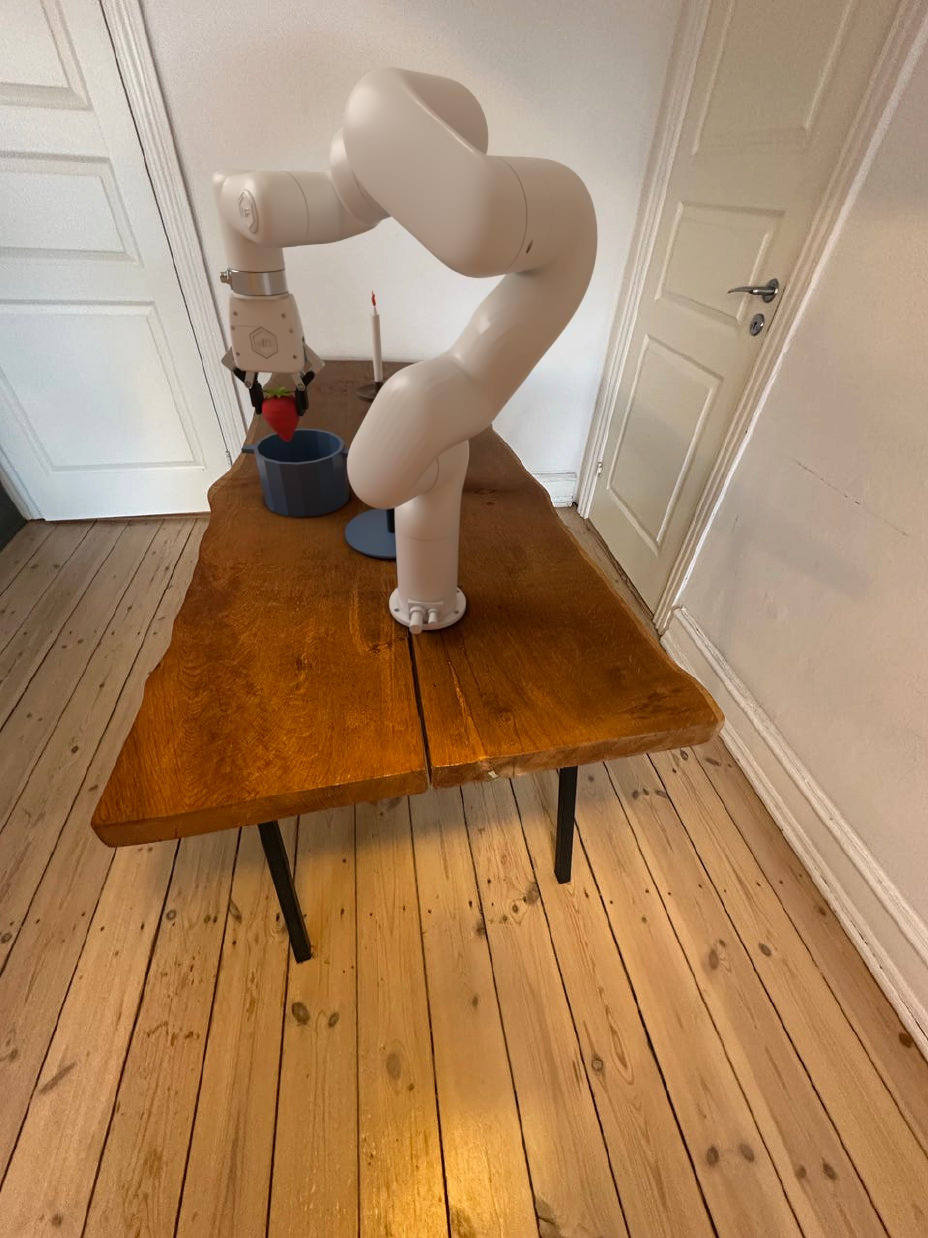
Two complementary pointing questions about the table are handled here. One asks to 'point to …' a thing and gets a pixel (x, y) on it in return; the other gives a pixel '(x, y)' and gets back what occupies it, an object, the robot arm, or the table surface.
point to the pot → (302, 472)
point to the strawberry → (281, 412)
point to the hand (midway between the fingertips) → (281, 411)
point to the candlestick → (371, 391)
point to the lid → (373, 533)
